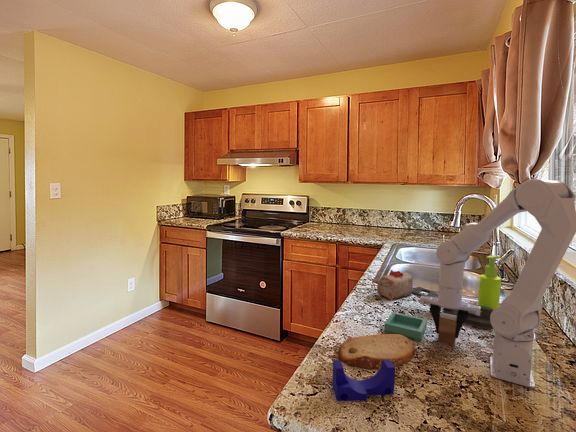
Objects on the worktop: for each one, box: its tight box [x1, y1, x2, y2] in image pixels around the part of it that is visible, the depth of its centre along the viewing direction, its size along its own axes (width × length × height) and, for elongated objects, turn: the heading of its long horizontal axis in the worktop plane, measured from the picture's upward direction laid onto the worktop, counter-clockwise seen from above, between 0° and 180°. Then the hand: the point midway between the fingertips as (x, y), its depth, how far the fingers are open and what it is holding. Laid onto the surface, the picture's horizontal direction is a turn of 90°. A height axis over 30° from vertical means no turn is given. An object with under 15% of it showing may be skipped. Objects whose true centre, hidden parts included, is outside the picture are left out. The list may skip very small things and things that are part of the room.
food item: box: [376, 269, 414, 301], centre depth 124 cm, size 14×8×10 cm, turn 124°
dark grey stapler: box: [411, 286, 494, 330], centre depth 106 cm, size 9×7×25 cm
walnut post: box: [437, 312, 457, 347], centre depth 88 cm, size 4×4×7 cm
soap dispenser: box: [477, 254, 504, 312], centre depth 106 cm, size 6×7×20 cm
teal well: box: [383, 312, 428, 342], centre depth 95 cm, size 10×10×2 cm
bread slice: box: [337, 333, 416, 370], centre depth 81 cm, size 18×18×4 cm
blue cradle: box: [331, 359, 396, 402], centre depth 65 cm, size 12×4×6 cm, turn 94°
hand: (447, 334), depth 88 cm, fingers closed on walnut post, 4 cm apart
